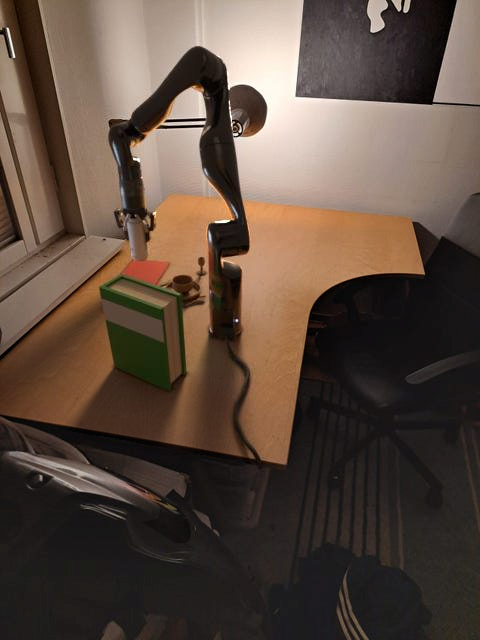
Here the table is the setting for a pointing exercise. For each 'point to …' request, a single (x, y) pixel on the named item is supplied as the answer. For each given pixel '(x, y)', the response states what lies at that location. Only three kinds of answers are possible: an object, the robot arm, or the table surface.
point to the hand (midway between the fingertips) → (138, 240)
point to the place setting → (187, 284)
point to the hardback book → (145, 329)
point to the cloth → (146, 270)
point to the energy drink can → (137, 240)
